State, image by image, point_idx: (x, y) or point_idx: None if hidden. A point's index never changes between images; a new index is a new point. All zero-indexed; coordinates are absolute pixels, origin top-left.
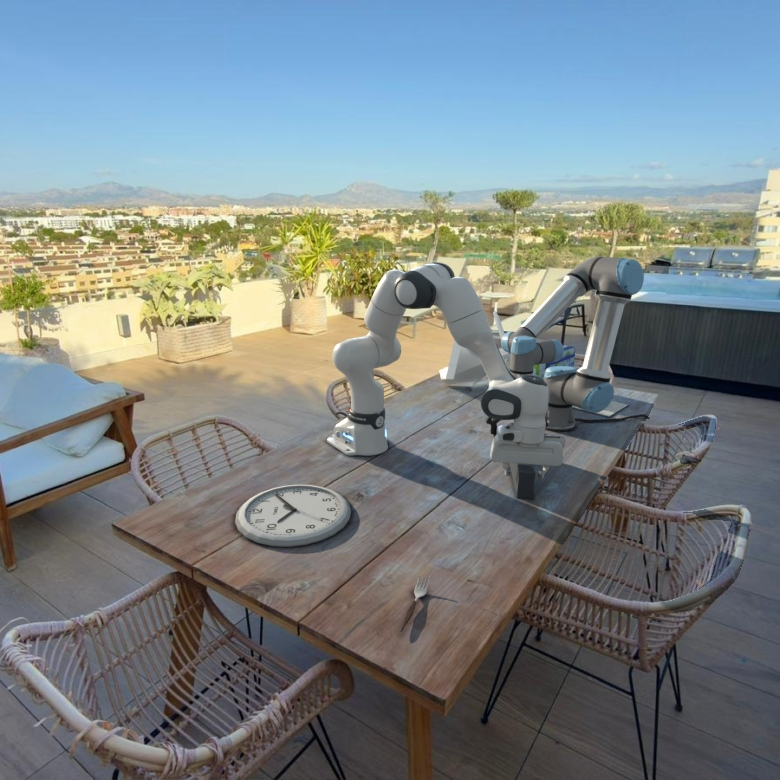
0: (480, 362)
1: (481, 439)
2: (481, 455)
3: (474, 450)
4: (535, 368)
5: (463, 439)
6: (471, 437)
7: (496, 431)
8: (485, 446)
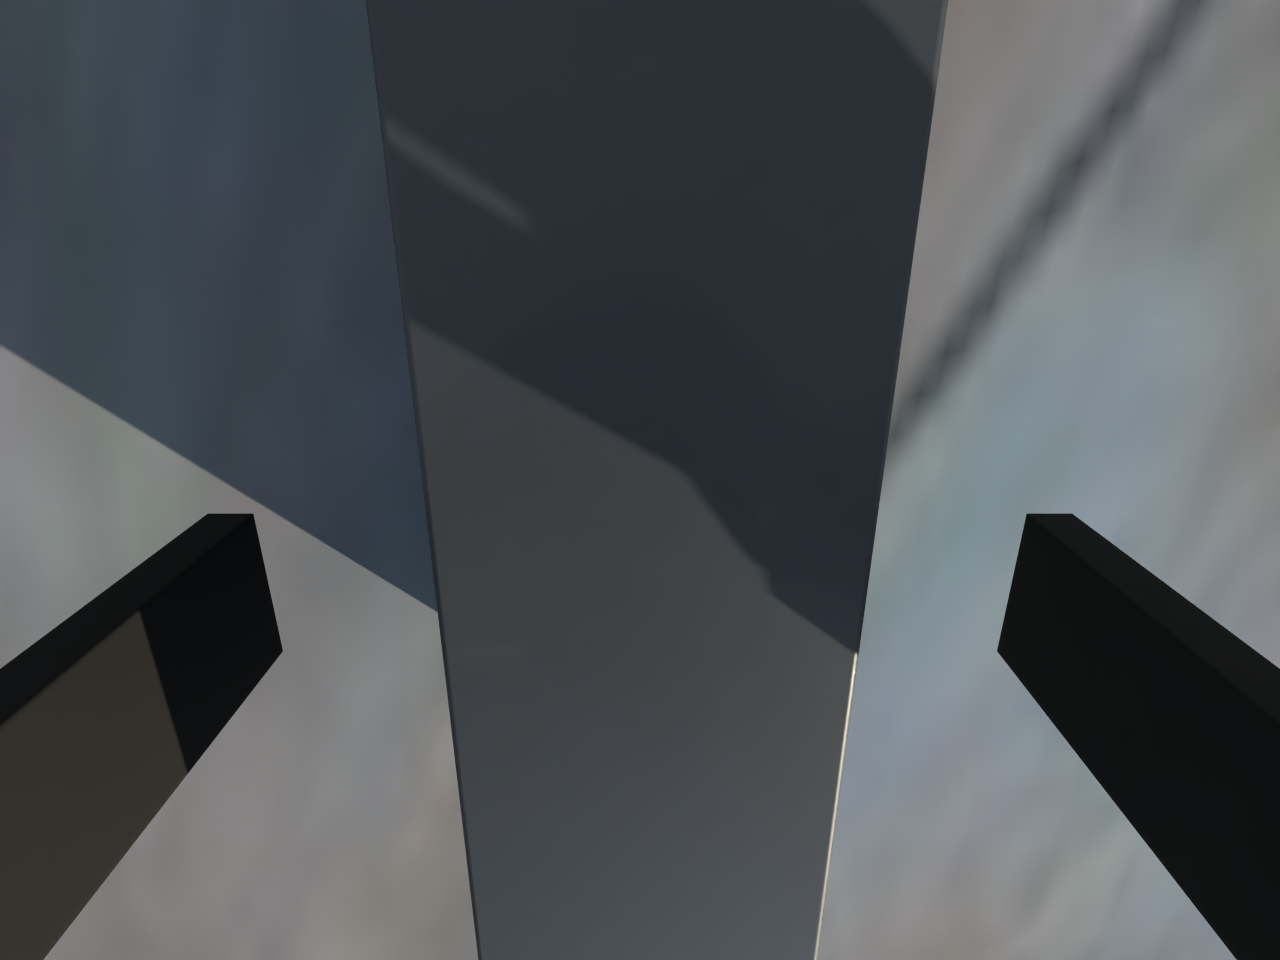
0: None
1: (1022, 868)
2: (1195, 350)
3: (1246, 524)
4: None
5: None
6: (1141, 903)
7: (1261, 701)
8: None
